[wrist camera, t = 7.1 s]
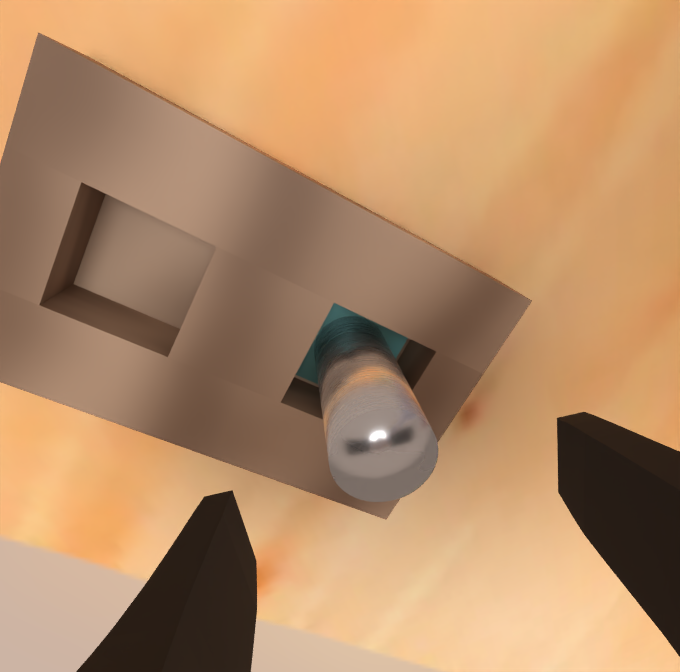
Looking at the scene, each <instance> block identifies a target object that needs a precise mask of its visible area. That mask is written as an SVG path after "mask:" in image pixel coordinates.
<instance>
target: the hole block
mask: <svg viewBox="0 0 680 672" xmlns="http://www.w3.org/2000/svg"><path fill="white" fill-rule="evenodd" d="M530 303H531V300H530V299H528V298H526V297H525V296H523V295H521V294H520V293H518V292H516V291H515V290H513V289H511V288H510V287H508V286H506V285H505V284H503V283H501V282H500V281H498V280H497V279H495V278H493V277H491V276H489V275H487V274H486V273H484V272H482V271H480V270H478V269H476V268H475V267H473V266H471V265H469V264H467V263H465V262H464V261H462V260H460V259H458V258H456V257H454V256H453V255H451V254H449V253H447V252H445V251H443V250H442V249H440V248H438V247H436V246H434V245H432V244H431V243H429V242H427V241H425V240H423V239H421V238H420V237H418V236H416V235H414V234H412V233H410V232H409V231H407V230H405V229H403V228H401V227H399V226H398V225H396V224H394V223H392V222H390V221H388V220H387V219H385V218H383V217H381V216H379V215H377V214H376V213H374V212H372V211H370V210H368V209H366V208H365V207H363V206H361V205H359V204H357V203H355V202H354V201H352V200H350V199H348V198H346V197H344V196H343V195H341V194H339V193H337V192H335V191H333V190H332V189H330V188H328V187H326V186H324V185H322V184H321V183H319V182H317V181H315V180H313V179H311V178H310V177H308V176H306V175H304V174H302V173H300V172H299V171H297V170H295V169H293V168H291V167H289V166H288V165H286V164H284V163H282V162H280V161H278V160H277V159H275V158H273V157H271V156H269V155H267V154H266V153H264V152H262V151H260V150H258V149H256V148H255V147H253V146H251V145H249V144H247V143H245V142H244V141H242V140H240V139H238V138H236V137H234V136H233V135H231V134H229V133H227V132H225V131H223V130H222V129H220V128H218V127H216V126H214V125H212V124H211V123H209V122H207V121H205V120H203V119H201V118H200V117H198V116H196V115H194V114H192V113H190V112H189V111H187V110H185V109H183V108H181V107H179V106H177V105H176V104H174V103H172V102H170V101H168V100H166V99H165V98H163V97H161V96H159V95H157V94H155V93H154V92H152V91H150V90H148V89H146V88H144V87H143V86H141V85H139V84H137V83H135V82H133V81H132V80H130V79H128V78H126V77H124V76H122V75H121V74H119V73H117V72H115V71H113V70H111V69H110V68H108V67H106V66H104V65H102V64H100V63H99V62H97V61H95V60H93V59H91V58H89V57H88V56H86V55H84V54H82V53H80V52H78V51H76V50H74V49H71V48H69V47H67V46H65V45H63V44H61V43H59V42H57V41H55V40H53V39H51V38H49V37H47V36H45V35H42V34H40V33H38V36H37V39H36V42H35V46H34V49H33V53H32V56H31V60H30V63H29V67H28V70H27V74H26V77H25V80H24V84H23V87H22V91H21V94H20V98H19V101H18V105H17V108H16V112H15V115H14V118H13V122H12V125H11V129H10V132H9V136H8V139H7V143H6V146H5V150H4V153H3V157H2V160H1V163H0V382H1V383H4V384H7V385H10V386H13V387H15V388H18V389H21V390H24V391H27V392H29V393H32V394H35V395H38V396H41V397H44V398H46V399H49V400H52V401H55V402H58V403H60V404H63V405H66V406H69V407H72V408H74V409H77V410H80V411H83V412H86V413H88V414H91V415H94V416H97V417H100V418H102V419H105V420H108V421H111V422H114V423H117V424H119V425H122V426H125V427H128V428H131V429H133V430H136V431H139V432H142V433H145V434H147V435H150V436H153V437H156V438H159V439H161V440H164V441H167V442H170V443H173V444H175V445H178V446H181V447H184V448H187V449H190V450H192V451H195V452H198V453H201V454H204V455H206V456H209V457H212V458H215V459H218V460H220V461H223V462H226V463H229V464H232V465H234V466H237V467H240V468H243V469H246V470H249V471H251V472H254V473H257V474H260V475H263V476H265V477H268V478H271V479H274V480H277V481H279V482H282V483H285V484H288V485H291V486H293V487H296V488H299V489H302V490H305V491H307V492H310V493H313V494H316V495H319V496H322V497H324V498H327V499H330V500H333V501H336V502H338V503H341V504H344V505H347V506H350V507H352V508H355V509H358V510H361V511H364V512H366V513H369V514H372V515H375V516H378V517H380V518H383V519H387V518H388V516H389V515H390V513H391V512H392V510H393V509H394V507H395V506H396V504H397V503H398V501H399V500H400V498H399V499H396V500H392V501H386V502H370V501H364V500H360V499H357V498H355V497H353V496H351V495H349V494H348V493H346V492H345V491H343V490H342V489H341V488H340V487H339V486H338V485H337V483H336V482H335V480H334V479H333V477H332V474H331V472H330V467H329V461H328V453H327V446H326V438H325V431H324V423H323V416H322V408H321V400H320V393H319V385H318V378H317V370H316V363H315V355H314V347H315V342H316V339H317V337H318V335H319V333H320V332H321V331H322V329H323V328H324V327H325V326H326V325H328V324H329V323H330V322H332V321H334V320H336V319H338V318H341V317H346V316H357V317H362V318H365V319H367V320H369V321H371V322H373V323H374V324H375V325H376V326H377V327H378V328H379V329H380V331H381V332H382V334H383V336H384V338H385V340H386V342H387V344H388V345H389V347H390V349H391V351H392V353H393V355H394V357H395V359H396V361H397V363H398V365H399V367H400V368H401V370H402V372H403V374H404V376H405V378H406V380H407V382H408V384H409V386H410V388H411V390H412V392H413V393H414V395H415V397H416V399H417V401H418V403H419V405H420V407H421V409H422V411H423V413H424V415H425V416H426V418H427V420H428V422H429V424H430V426H431V428H432V430H433V432H434V434H435V436H436V439H437V443H438V441H439V440H440V438H441V437H442V435H443V434H444V432H445V431H446V429H447V427H448V426H449V424H450V423H451V421H452V420H453V418H454V417H455V415H456V414H457V412H458V411H459V409H460V408H461V406H462V405H463V403H464V402H465V400H466V399H467V397H468V396H469V394H470V393H471V391H472V390H473V388H474V387H475V385H476V384H477V382H478V381H479V379H480V378H481V376H482V375H483V373H484V372H485V370H486V369H487V367H488V366H489V364H490V363H491V361H492V360H493V358H494V357H495V355H496V354H497V352H498V351H499V349H500V348H501V346H502V345H503V343H504V342H505V340H506V339H507V337H508V336H509V334H510V333H511V331H512V330H513V328H514V327H515V325H516V324H517V322H518V321H519V319H520V318H521V316H522V315H523V313H524V312H525V310H526V309H527V307H528V306H529V304H530Z"/></svg>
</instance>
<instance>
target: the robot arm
mask: <svg viewBox="0 0 680 672" xmlns="http://www.w3.org/2000/svg"><path fill="white" fill-rule="evenodd" d="M557 437H558V492H559V494H560V496H561V497H562V499H563V501H564V502H565V504H566V506H567V508H568V509H569V511H570V513H571V514H572V516H573V518H574V519H575V521H576V522H577V524H578V525H579V527H580V529H581V530H582V532H583V533H584V535H585V536H586V537H587V539H588V540H589V541H590V543H591V544H592V545H593V546H594V548H595V549H596V550H597V552H598V553H599V554H600V555H601V557H602V558H603V559H604V560H605V562H606V563H607V564H608V566H609V567H610V568H611V569H612V571H613V572H614V573H615V574H616V576H617V577H618V578H619V579H620V581H621V582H622V583H623V584H624V586H625V587H626V588H627V589H628V591H629V592H630V593H631V594H632V596H633V597H634V598H635V599H636V601H637V602H638V603H639V604H640V606H641V607H642V608H643V610H644V611H645V612H646V613H647V615H648V616H649V617H650V618H651V620H652V621H653V622H654V623H655V625H656V626H657V627H658V628H659V630H660V631H661V632H662V633H663V635H664V636H665V637H666V639H667V640H668V642H669V643H670V644H671V646H672V647H673V648H674V650H675V651H676V652H677V654H678V655H679V656H680V452H679V451H677V450H674V449H672V448H670V447H667V446H665V445H662V444H660V443H658V442H655V441H653V440H651V439H648V438H646V437H644V436H642V435H639V434H637V433H635V432H632V431H630V430H628V429H625V428H623V427H621V426H618V425H616V424H614V423H611V422H609V421H606V420H604V419H602V418H599V417H597V416H594V415H591V414H589V413H586V412H582V413H577V414H573V415H568V416H564V417H559V418H557ZM256 614H257V568H256V559H255V556H254V553H253V550H252V547H251V544H250V541H249V538H248V535H247V532H246V529H245V526H244V523H243V520H242V517H241V514H240V511H239V509H238V506H237V503H236V500H235V497H234V494H233V491H228V492H223V493H219V494H214V495H210V496H205V497H204V498H203V499H202V501H201V502H200V504H199V505H198V507H197V508H196V510H195V511H194V513H193V514H192V516H191V517H190V519H189V520H188V522H187V523H186V525H185V526H184V528H183V530H182V531H181V533H180V534H179V536H178V537H177V539H176V540H175V542H174V543H173V545H172V546H171V548H170V549H169V551H168V552H167V554H166V555H165V557H164V558H163V560H162V561H161V563H160V564H159V565H158V567H157V568H156V570H155V571H154V573H153V574H152V576H151V577H150V579H149V580H148V581H147V583H146V584H145V586H144V587H143V589H142V590H141V591H140V593H139V594H138V595H137V597H136V598H135V599H134V601H133V602H132V603H131V605H130V606H129V607H128V609H127V610H126V611H125V613H124V614H123V615H122V617H121V618H120V619H119V621H118V622H117V623H116V625H115V626H114V627H113V629H112V630H111V631H110V632H109V634H108V635H107V636H106V637H105V639H104V640H103V641H102V642H101V643H100V645H99V646H98V647H97V648H96V649H95V651H94V652H93V653H92V654H91V655H90V657H89V658H88V659H87V660H86V661H85V663H83V665H82V666H81V667H80V668H79V669H78V670H77V672H251V663H252V653H253V644H254V634H255V624H256Z"/></svg>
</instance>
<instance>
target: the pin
mask: <svg viewBox="0 0 680 672" xmlns="http://www.w3.org/2000/svg"><path fill="white" fill-rule="evenodd" d="M314 355H315V363H316V370H317V378H318V385H319V393H320V400H321V408H322V416H323V423H324V431H325V438H326V446H327V453H328V461H329V467H330V472H331V474H332V477H333V479H334V480H335V482H336V483H337V485H338V486H339V487H340V488H341V489H342V490H343V491H345V492H346V493H348V494H349V495H351V496H353V497H355V498H357V499H360V500H364V501H370V502H386V501H392V500H396V499H399V498H402V497H404V496H406V495H408V494H410V493H412V492H413V491H415V490H416V489H418V488H419V487H420V486H421V485H422V484H423V483H424V482H425V481H426V480H427V479H428V478H429V476H430V475H431V473H432V471H433V469H434V467H435V465H436V462H437V457H438V443H437V439H436V436H435V434H434V432H433V430H432V428H431V426H430V424H429V422H428V420H427V418H426V416H425V415H424V413H423V411H422V409H421V407H420V405H419V403H418V401H417V399H416V397H415V395H414V393H413V392H412V390H411V388H410V386H409V384H408V382H407V380H406V378H405V376H404V374H403V372H402V370H401V368H400V367H399V365H398V363H397V361H396V359H395V357H394V355H393V353H392V351H391V349H390V347H389V345H388V344H387V342H386V340H385V338H384V336H383V334H382V332H381V331H380V329H379V328H378V327H377V326H376V325H375V324H374V323H373V322H371V321H369V320H367V319H365V318H362V317H357V316H346V317H341V318H338V319H336V320H334V321H332V322H330V323H329V324H328V325H326V326H325V327H324V328H323V329H322V331H321V332H320V333H319V335H318V337H317V339H316V342H315V347H314Z"/></svg>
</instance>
